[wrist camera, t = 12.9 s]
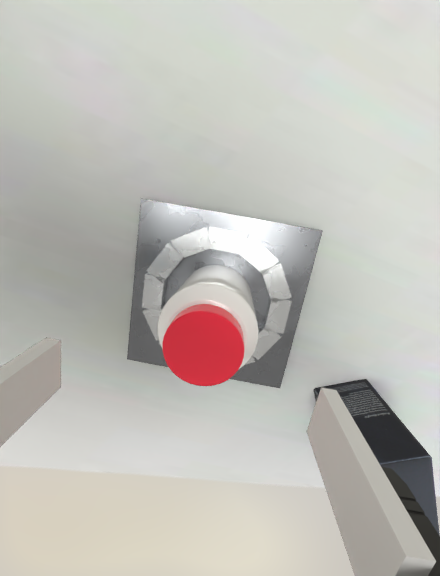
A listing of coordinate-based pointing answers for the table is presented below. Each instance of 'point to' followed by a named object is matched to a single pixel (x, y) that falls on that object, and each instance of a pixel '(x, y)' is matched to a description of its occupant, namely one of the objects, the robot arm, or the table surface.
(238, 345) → the pill bottle
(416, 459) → the small box
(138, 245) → the ring seat
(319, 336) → the table surface
